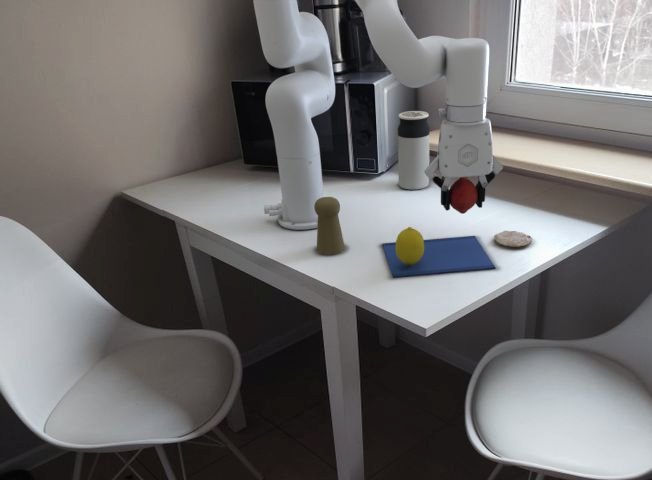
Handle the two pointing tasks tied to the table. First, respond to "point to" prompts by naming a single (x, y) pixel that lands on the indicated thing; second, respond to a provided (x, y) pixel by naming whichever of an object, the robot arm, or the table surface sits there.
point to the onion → (463, 195)
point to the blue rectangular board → (441, 257)
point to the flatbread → (513, 238)
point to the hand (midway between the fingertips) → (462, 206)
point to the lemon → (409, 246)
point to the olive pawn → (328, 227)
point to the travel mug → (413, 150)
